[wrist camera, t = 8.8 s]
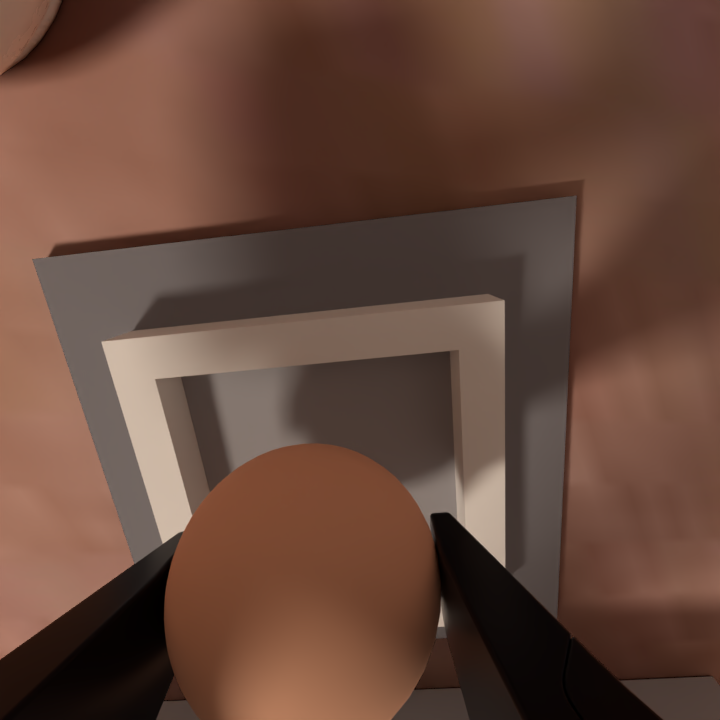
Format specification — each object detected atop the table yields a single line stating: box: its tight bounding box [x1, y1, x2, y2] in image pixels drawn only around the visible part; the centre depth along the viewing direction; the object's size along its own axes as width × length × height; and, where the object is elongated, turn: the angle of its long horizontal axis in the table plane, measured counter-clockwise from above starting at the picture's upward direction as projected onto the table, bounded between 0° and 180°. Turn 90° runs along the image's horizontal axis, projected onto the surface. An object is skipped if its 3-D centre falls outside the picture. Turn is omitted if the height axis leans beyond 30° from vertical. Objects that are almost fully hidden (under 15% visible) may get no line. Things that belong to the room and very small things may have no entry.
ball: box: [164, 443, 441, 720], centre depth 7 cm, size 5×5×5 cm
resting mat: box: [32, 196, 577, 639], centre depth 10 cm, size 13×13×2 cm
